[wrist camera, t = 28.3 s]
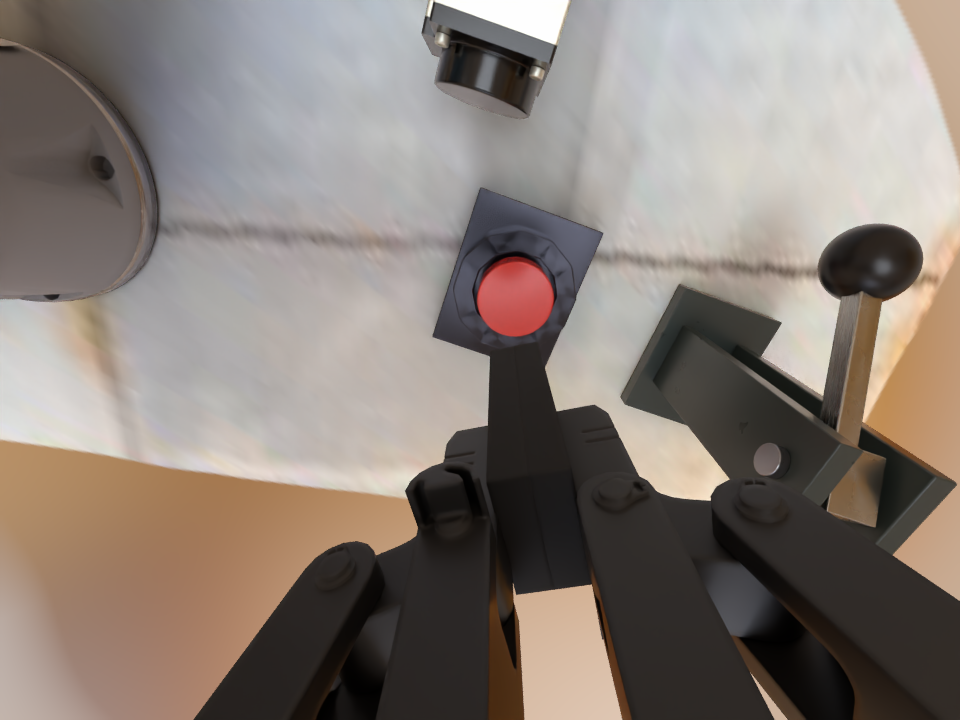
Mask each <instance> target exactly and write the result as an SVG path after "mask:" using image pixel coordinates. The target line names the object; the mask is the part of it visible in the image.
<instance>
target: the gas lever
mask: <svg viewBox="0 0 960 720" xmlns="http://www.w3.org/2000/svg"><path fill="white" fill-rule="evenodd" d="M922 264H923V252H922V249H921V246H920V244H919V242H918V241H917V240H916V238H915V237H914V236H913V235H911V234H910V233H909V232H907V231H906V230H904V229H902V228H899V227H897V226H893V225H888V224H867V225H862V226H858V227H855V228H852V229H850V230H847V231H845V232H844V233H842V234H840V235H839V236H837V237H836V238H835V239H833V240H832V241H831V242H830V243H829V244H828V245H827V247H826V248H825V249H824V251H823V252H822V254H821V257H820V259H819V263H818V277H819V280H820V282H821V284H822V286H823V287H824V289H825V290H826V291H827V292H828V293H829V294H831V295H832V296H833V297H835V298H837V299H839V300H841V302H840V308H839V313H838V318H837V324H836V329H835V335H834V340H833V346H832V351H831V357H830V362H829V368H828V373H827V379H826V384H825V390H824V395H823V401H822V406H821V411H820V417H819V419H820V420H822V421H823V422H824V423H826V424H827V425H828V426H830V427H831V428H833V429H834V430H835V431H837V432H838V433H840V434H841V435H842V436H844V437H845V438H846V439H848V440H849V441H851V442H852V443H853V444H855V445H856V446H857V447H858V443H859V437H860V431H861V425H862V419H863V413H864V407H865V401H866V395H867V389H868V383H869V377H870V371H871V365H872V359H873V353H874V347H875V341H876V335H877V329H878V323H879V317H880V311H881V305H882V302H883V301H886V300H889V299H891V298H893V297H896V296H898V295H899V294H901V293H902V292H904V291H905V290H906V289H907V288H909V287H910V286H911V285H912V284H913V282H914V281H915V280H916V279H917V277H918V275H919V273H920V271H921V269H922ZM885 464H886V458H884V457H881V456H878V455H875V454H873V453H870V452H867V451H864V450H863V453H862V455H861V456H860V457H859V458H858V460H857V461H856V462H855V463H854V465H853V466H852V467H851V468H850V470H849V471H848V472H847V473H846V475H845V476H844V477H843V478H842V480H841V481H840V482H839V483H838V485H837V486H836V487H835V488H834V490H833V491H832V492H831V493H830V495H829V496H828V497H827V498H826V500H825V501H824V502H823V504H822V505H821V507H822V508H823V509H825V510H826V511H828V512H829V513H831V514H832V515H834V516H835V517H837V518H838V519H840V520H844V521H848V522H853V523H857V524H861V525H865V526H869V527H873V528H874V527H876V522H877V516H878V509H879V503H880V496H881V490H882V483H883V477H884V470H885Z"/></svg>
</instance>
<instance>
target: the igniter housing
mask: <svg viewBox="0 0 960 720" xmlns="http://www.w3.org/2000/svg"><path fill="white" fill-rule="evenodd" d="M602 236H603V233H602V232H600V231H597V230H595V229H592V228H589V227H587V226H584V225H581V224H579V223H576V222H573V221H571V220H568V219H565V218H563V217H560V216H557V215H554V214H552V213H549V212H546V211H544V210H541V209H538V208H536V207H533V206H530V205H528V204H525V203H522V202H520V201H517V200H514V199H511V198H509V197H506V196H503V195H501V194H498V193H495V192H493V191H490V190H487V189H485V188H480V190H479V193H478V196H477V200H476V203H475V206H474V209H473V212H472V215H471V218H470V221H469V224H468V227H467V231H466V234H465V237H464V240H463V243H462V246H461V249H460V252H459V255H458V258H457V262H456V265H455V268H454V271H453V274H452V277H451V280H450V283H449V286H448V289H447V293H446V296H445V299H444V302H443V305H442V308H441V311H440V314H439V317H438V321H437V324H436V327H435V330H434V333H433V337H435V338H438V339H440V340H443V341H446V342H449V343H452V344H455V345H458V346H461V347H464V348H467V349H470V350H473V351H476V352H479V353H482V354H485V355H488V356H490V351H493V350H498V349H503V348H508V347H513V346H517V345H522V344H527V343H532V342H537V341H538V345H539V349H540V352H541V356H542V360H543V363H544V367H545V366H546V364H547V361H548V359H549V357H550V355H551V352H552V350H553V348H554V345H555V343H556V341H557V339H558V336H559V334H560V332H561V329H563V327H564V326H565V324H566V322H567V319H568V317H569V315H570V312H571V310H572V308H573V306H574V303H575V301H576V295H577V293H578V290H579V288H580V286H581V284H582V281H583V279H584V277H585V274H586V272H587V270H588V268H589V265H590V263H591V261H592V258H593V256H594V254H595V252H596V249H597V247H598V245H599V242H600V240H601V238H602ZM507 257H524V258H527V259H529V260H532V261H533V262H535V263H536V264H538V265H539V266H540V267H541V268H542V269H543V271H544V272H545V273H546V275H547V277H548V279H549V281H550V283H551V285H552V288H553V293H554V304H553V308H552V311H551V314H550V316H549V318H548V319H547V321H546V322H545V323H544V324H543V325H542V326H541V327H540V328H539V329H537V330H536V331H534V332H532V333H530V334H527V335H523V336H517V337H516V336H506V335H502V334H500V333H498V332H496V331H494V330H493V329H491V328H490V327H489V326H488V325H487V324H486V323H485V322H484V320H483V319H482V317H481V315H480V313H479V309H478V305H477V295H478V289H479V284H480V281H481V279H482V276H483V275H484V273H485V272H486V270H487V269H488V268H489V267H490V266H491V265H492V264H494V263H495V262H497V261H498V260H501V259H503V258H507Z"/></svg>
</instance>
